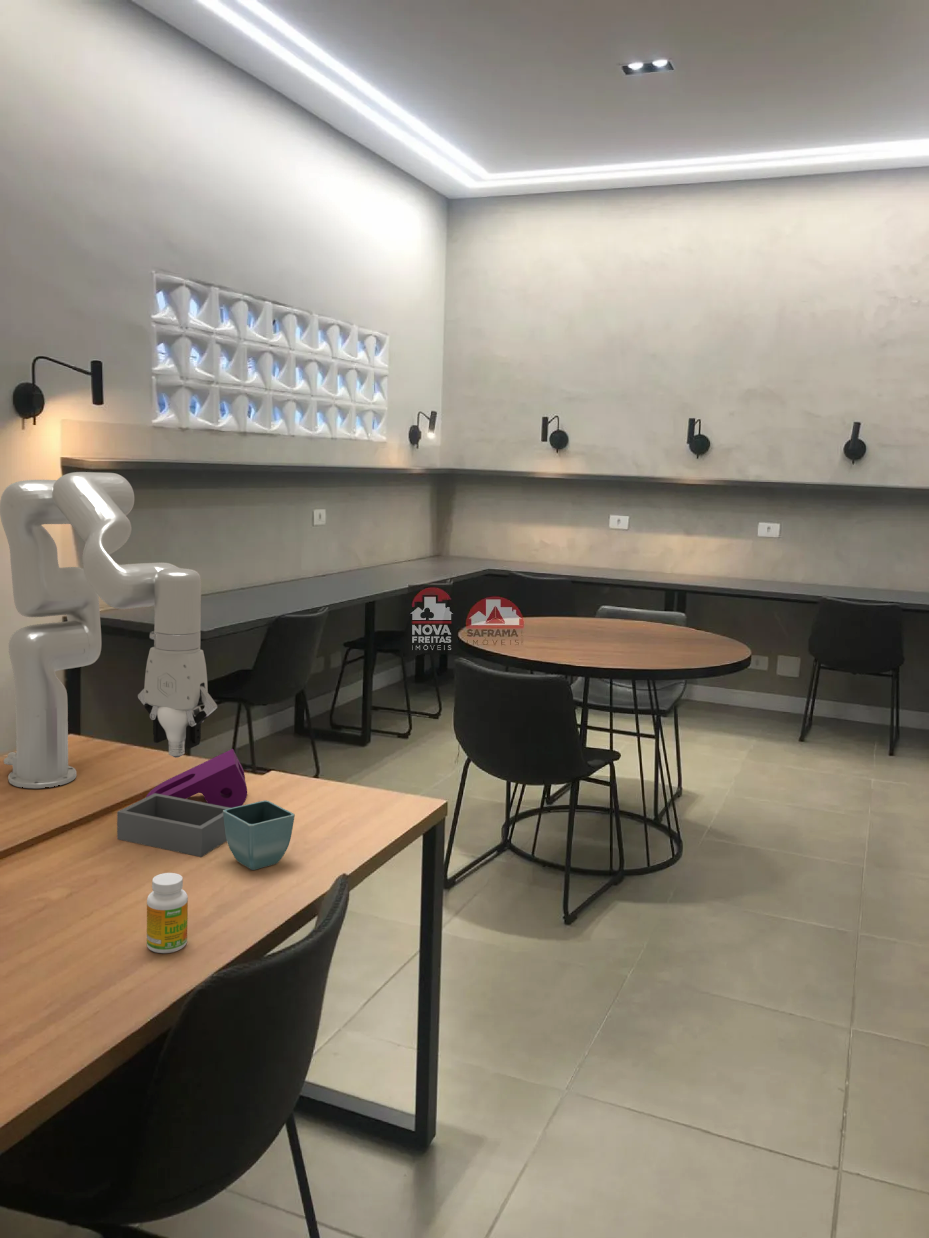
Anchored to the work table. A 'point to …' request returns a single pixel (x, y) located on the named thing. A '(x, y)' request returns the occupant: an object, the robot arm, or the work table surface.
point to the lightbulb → (174, 728)
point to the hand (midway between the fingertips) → (176, 742)
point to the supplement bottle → (167, 914)
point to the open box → (173, 824)
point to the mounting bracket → (210, 782)
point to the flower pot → (258, 833)
